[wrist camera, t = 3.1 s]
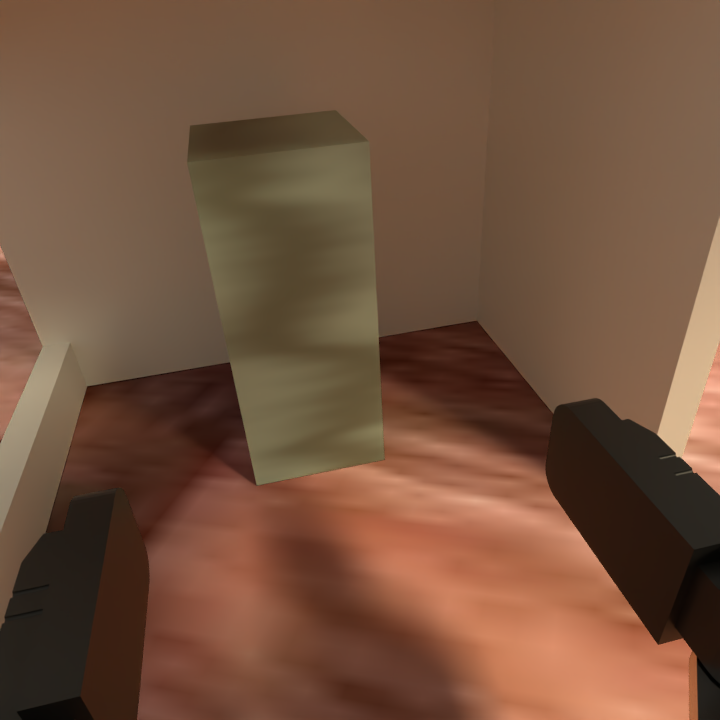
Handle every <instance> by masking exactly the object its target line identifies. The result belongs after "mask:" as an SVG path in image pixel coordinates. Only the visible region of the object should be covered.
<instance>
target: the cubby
mask: <svg viewBox="0 0 720 720" xmlns="http://www.w3.org/2000/svg"><path fill="white" fill-rule="evenodd" d="M332 110H336V111H337V112H338V113H339V114H340V115H341V116H343V117H344V118H345V119H346V120H347V121H348V122H349V123H350V124H351V125H352V126H353V127H354V128H355V129H356V130H358V131H359V132H360V133H361V134H362V135H363V136H364V137H365V138H366V139H367V140H368V141H369V147H370V168H371V189H372V210H373V230H374V251H375V272H376V293H377V313H378V334H379V337H383V336H388V335H394V334H400V333H406V332H412V331H418V330H424V329H430V328H436V327H442V326H448V325H454V324H460V323H466V322H471V321H478V323H479V324H480V325H481V326H482V328H483V329H484V330H485V331H486V332H487V334H488V335H489V336H490V337H491V339H492V340H493V341H494V342H495V343H496V345H497V346H498V347H499V348H500V349H501V351H502V352H503V353H504V354H505V356H506V357H507V358H508V359H509V360H510V362H511V363H512V364H513V365H514V367H515V368H516V369H517V370H518V371H519V373H520V374H521V375H522V376H523V378H524V379H525V380H526V381H527V382H528V384H529V385H530V386H531V387H532V389H533V390H534V391H535V392H536V393H537V395H538V396H539V397H540V398H541V399H542V401H543V402H544V403H545V404H546V406H547V407H548V408H549V409H550V410H551V412H552V413H553V414H554V411H555V408H556V407H557V406H558V405H561V404H566V403H571V402H576V401H582V400H587V399H592V398H598V399H600V400H602V401H603V402H604V403H605V404H606V405H607V406H608V407H609V408H610V409H611V410H612V411H613V412H614V413H615V414H616V415H617V416H618V417H619V418H620V419H621V420H625V419H630V420H632V421H634V422H636V423H638V424H639V425H641V426H643V427H645V428H647V429H649V430H650V431H652V432H654V433H656V434H657V435H658V436H659V437H660V438H661V439H662V440H663V441H664V442H665V443H666V444H667V445H668V446H669V447H670V448H671V449H672V450H673V451H674V452H675V453H676V456H677V457H681V458H682V456H683V453H684V450H685V447H686V444H687V441H688V438H689V434H690V431H691V428H692V425H693V422H694V419H695V416H696V413H697V410H698V407H699V404H700V401H701V397H702V394H703V391H704V388H705V385H706V382H707V379H708V376H709V373H710V370H711V367H712V363H713V360H714V357H715V354H716V351H717V348H718V345H719V342H720V0H0V246H1V248H2V251H3V253H4V255H5V258H6V260H7V262H8V265H9V267H10V270H11V272H12V274H13V277H14V279H15V282H16V284H17V286H18V289H19V291H20V294H21V296H22V298H23V301H24V303H25V306H26V308H27V310H28V313H29V315H30V318H31V320H32V322H33V325H34V327H35V330H36V332H37V334H38V337H39V339H40V342H41V344H42V346H43V347H42V349H41V352H40V354H39V356H38V358H37V361H36V363H35V365H34V368H33V370H32V372H31V374H30V377H29V379H28V381H27V384H26V386H25V388H24V390H23V393H22V395H21V397H20V400H19V402H18V404H17V406H16V409H15V411H14V413H13V415H12V418H11V420H10V422H9V425H8V427H7V429H6V431H5V434H4V436H3V438H2V441H1V443H0V629H1V626H2V624H3V623H5V618H4V616H5V613H6V610H7V607H8V603H9V600H10V598H12V597H13V593H12V591H13V588H14V584H15V581H16V578H17V575H18V572H19V569H20V566H21V562H22V561H23V560H24V558H25V557H26V556H27V554H28V553H29V552H30V551H31V549H32V548H33V547H34V545H35V544H36V543H37V541H38V540H39V539H40V537H41V536H42V535H43V534H45V533H46V529H47V526H48V522H49V519H50V515H51V512H52V508H53V505H54V501H55V498H56V494H57V491H58V487H59V483H60V480H61V476H62V473H63V469H64V466H65V462H66V459H67V455H68V452H69V448H70V445H71V441H72V438H73V434H74V431H75V427H76V424H77V420H78V417H79V413H80V410H81V406H82V403H83V399H84V396H85V392H86V389H87V386H92V385H98V384H104V383H110V382H116V381H122V380H128V379H134V378H140V377H146V376H151V375H157V374H163V373H169V372H175V371H181V370H187V369H193V368H199V367H205V366H211V365H217V364H223V363H228V362H230V359H229V355H228V350H227V346H226V341H225V336H224V332H223V327H222V322H221V318H220V313H219V308H218V304H217V299H216V294H215V290H214V285H213V281H212V276H211V271H210V267H209V262H208V257H207V253H206V248H205V243H204V239H203V234H202V230H201V225H200V220H199V216H198V211H197V206H196V202H195V197H194V192H193V188H192V183H191V178H190V174H189V169H188V165H187V157H188V144H189V132H190V126H191V125H200V124H209V123H219V122H228V121H238V120H247V119H257V118H266V117H275V116H285V115H294V114H304V113H313V112H322V111H332Z"/></svg>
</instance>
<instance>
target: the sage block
mask: <svg viewBox="0 0 720 720" xmlns="http://www.w3.org/2000/svg"><path fill="white" fill-rule="evenodd" d="M187 165H188V169H189V174H190V178H191V183H192V188H193V192H194V197H195V202H196V206H197V211H198V216H199V220H200V225H201V230H202V234H203V239H204V243H205V248H206V253H207V257H208V262H209V267H210V271H211V276H212V281H213V285H214V290H215V294H216V299H217V304H218V308H219V313H220V318H221V322H222V327H223V332H224V336H225V341H226V346H227V350H228V355H229V359H230V364H231V369H232V373H233V378H234V383H235V387H236V392H237V397H238V401H239V406H240V410H241V415H242V420H243V424H244V429H245V434H246V438H247V443H248V448H249V452H250V457H251V462H252V466H253V471H254V475H255V480H256V485H262V484H267V483H272V482H277V481H282V480H287V479H292V478H297V477H302V476H307V475H312V474H317V473H322V472H326V471H331V470H336V469H341V468H346V467H351V466H356V465H361V464H366V463H371V462H376V461H381V460H385V459H384V438H383V417H382V397H381V376H380V355H379V334H378V313H377V293H376V272H375V251H374V230H373V210H372V189H371V168H370V147H369V141H368V140H367V139H366V138H365V137H364V136H363V135H362V134H361V133H360V132H359V131H358V130H356V129H355V128H354V127H353V126H352V125H351V124H350V123H349V122H348V121H347V120H346V119H345V118H344V117H343V116H341V115H340V114H339V113H338V112H337V111H336V110H332V111H322V112H313V113H304V114H294V115H285V116H275V117H266V118H257V119H247V120H238V121H228V122H219V123H209V124H200V125H191V126H190V132H189V144H188V157H187Z"/></svg>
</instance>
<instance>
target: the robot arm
mask: <svg viewBox="0 0 720 720" xmlns="http://www.w3.org/2000/svg"><path fill="white" fill-rule="evenodd" d="M546 476H547V480H548V484H549V487H550V489H551V491H552V493H553V495H554V497H555V498H556V499H557V501H558V502H559V504H560V505H561V507H562V508H563V509H564V511H565V512H566V514H567V515H568V517H569V518H570V520H571V521H572V522H573V524H574V525H575V527H576V528H577V530H578V531H579V532H580V534H581V535H582V537H583V538H584V540H585V541H586V542H587V544H588V545H589V547H590V548H591V550H592V551H593V552H594V554H595V555H596V557H597V558H598V560H599V561H600V562H601V564H602V565H603V567H604V568H605V570H606V571H607V572H608V574H609V575H610V577H611V578H612V580H613V581H614V582H615V584H616V585H617V587H618V588H619V590H620V591H621V592H622V594H623V595H624V597H625V598H626V600H627V601H628V602H629V604H630V605H631V607H632V608H633V610H634V611H635V612H636V614H637V615H638V617H639V618H640V620H641V621H642V622H643V624H644V625H645V627H646V628H647V630H648V631H649V632H650V634H651V635H652V637H653V638H654V640H655V641H656V642H657V644H658V645H659V644H663V643H667V642H670V641H674V640H678V639H681V638H683V639H684V640H685V641H686V643H687V644H688V645H689V647H690V648H691V649H692V653H691V655H690V658H689V720H720V495H719V494H718V493H717V492H716V491H715V490H713V489H712V488H711V487H710V486H709V485H708V484H707V483H706V482H705V481H704V480H703V479H702V478H701V477H700V476H699V475H698V474H697V473H693V471H692V468H691V467H690V466H689V465H688V464H687V463H686V462H685V461H684V460H683V459H682V458H681V457H677V456H676V453H675V452H674V451H673V450H672V449H671V448H670V447H669V446H668V445H667V444H666V443H665V442H664V441H663V440H662V439H661V438H660V437H659V436H658V435H657V434H656V433H654V432H652V431H650V430H649V429H647V428H645V427H643V426H641V425H639V424H638V423H636V422H634V421H632V420H630V419H625V420H621V419H620V418H619V417H618V416H617V415H616V414H615V413H614V412H613V411H612V410H611V409H610V408H609V407H608V406H607V405H606V404H605V403H604V402H603V401H602V400H600V399H598V398H592V399H587V400H582V401H576V402H571V403H566V404H561V405H558V406H557V407H556V408H555V411H554V414H553V420H552V427H551V433H550V439H549V446H548V452H547V458H546ZM148 591H149V563H148V556H147V551H146V548H145V544H144V542H143V539H142V536H141V534H140V531H139V528H138V526H137V523H136V520H135V518H134V515H133V512H132V510H131V507H130V504H129V502H128V499H127V496H126V494H125V492H124V490H123V489H122V488H114V489H109V490H104V491H98V492H93V493H88V494H83V495H77V496H74V497H73V498H72V500H71V502H70V505H69V509H68V513H67V517H66V521H65V525H64V529H63V530H61V531H56V532H51V533H46V534H43V535H42V536H41V537H40V539H39V540H38V541H37V543H36V544H35V545H34V547H33V548H32V549H31V551H30V552H29V553H28V554H27V556H26V557H25V558H24V560H23V561H22V562H21V566H20V569H19V572H18V575H17V578H16V581H15V584H14V588H13V591H12V593H13V597H12V598H10V600H9V603H8V607H7V610H6V613H5V616H4V618H5V623H3V624H2V626H1V629H0V720H137V714H138V703H139V692H140V681H141V669H142V658H143V647H144V636H145V625H146V613H147V602H148Z"/></svg>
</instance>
